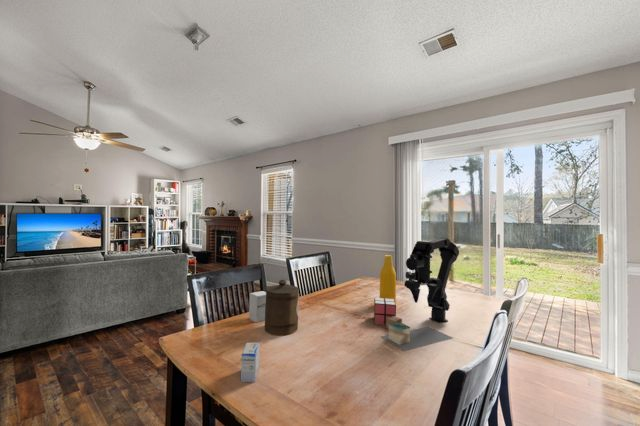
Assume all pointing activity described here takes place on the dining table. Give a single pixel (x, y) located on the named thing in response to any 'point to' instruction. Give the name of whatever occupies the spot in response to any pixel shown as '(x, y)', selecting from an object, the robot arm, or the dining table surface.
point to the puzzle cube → (383, 309)
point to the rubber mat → (420, 338)
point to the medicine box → (250, 362)
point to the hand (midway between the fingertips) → (423, 301)
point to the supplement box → (257, 306)
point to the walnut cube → (392, 320)
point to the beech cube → (399, 333)
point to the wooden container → (281, 309)
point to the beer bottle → (388, 279)
